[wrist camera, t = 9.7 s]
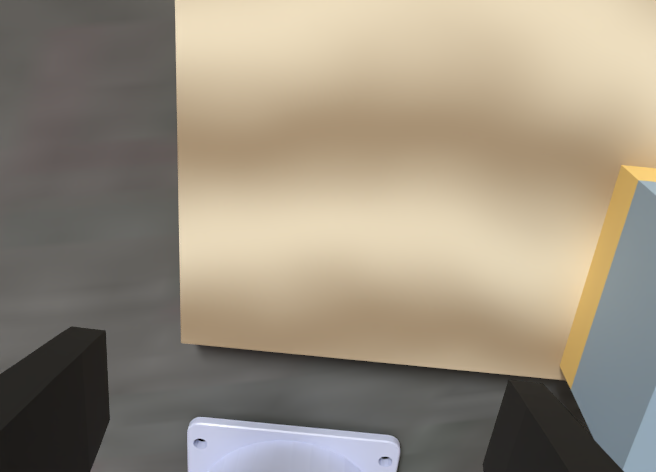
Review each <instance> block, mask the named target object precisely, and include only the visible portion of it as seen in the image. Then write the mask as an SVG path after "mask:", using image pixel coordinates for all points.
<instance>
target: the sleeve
mask: <svg viewBox="0 0 656 472" xmlns="http://www.w3.org/2000/svg"><path fill="white" fill-rule="evenodd" d="M560 368H561V370H562V372H563V374H564V376H565V378H566V381H567V383H568V385H569V387H570V389H571V391H572V393H573V396H574V398H575V400H576V402H577V404H578V406H579V408H580V410H581V413H582V415H583V417H584V419H585V421H586V423H587V425H588V428H589V430H590V432H591V434H592V436H593V438H594V440H595V441H596V442H597V443H598V444H599V445H600V447H601V448H602V449H603V450H604V451H605V452H606V453H607V454H608V455H609V456H610V457H611V458H612V459H613V461H614V462H615V463H616V464H617V465H618V466H619V467H620V468H621V469H622V470H623V471H624V472H656V168H647V167H637V166H626V165H621V168H620V171H619V174H618V178H617V181H616V184H615V187H614V191H613V194H612V197H611V200H610V204H609V207H608V210H607V213H606V217H605V220H604V223H603V226H602V230H601V233H600V236H599V239H598V243H597V246H596V249H595V252H594V256H593V259H592V262H591V265H590V269H589V272H588V275H587V278H586V282H585V285H584V288H583V291H582V295H581V298H580V301H579V304H578V308H577V311H576V314H575V317H574V321H573V324H572V327H571V330H570V334H569V337H568V340H567V343H566V347H565V350H564V353H563V356H562V360H561V363H560Z"/></svg>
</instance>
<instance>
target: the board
mask: <svg viewBox="0 0 656 472" xmlns="http://www.w3.org/2000/svg"><path fill="white" fill-rule="evenodd" d="M175 24H176V80H177V137H178V193H179V250H180V306H181V343H186V344H196V345H207V346H217V347H227V348H237V349H248V350H258V351H268V352H279V353H289V354H299V355H310V356H320V357H330V358H340V359H351V360H361V361H371V362H382V363H392V364H402V365H413V366H423V367H433V368H443V369H454V370H464V371H474V372H485V373H495V374H505V375H515V376H526V377H536V378H546V379H557V380H566V378H565V376H564V374H563V372H562V370H561V368H560V363H561V360H562V356H563V353H564V350H565V347H566V343H567V340H568V337H569V334H570V330H571V327H572V324H573V321H574V317H575V314H576V311H577V308H578V304H579V301H580V298H581V295H582V291H583V288H584V285H585V282H586V278H587V275H588V272H589V269H590V265H591V262H592V259H593V256H594V252H595V249H596V246H597V243H598V239H599V236H600V233H601V230H602V226H603V223H604V220H605V217H606V213H607V210H608V207H609V204H610V200H611V197H612V194H613V191H614V187H615V184H616V181H617V178H618V174H619V171H620V168H621V165H626V166H637V167H647V168H656V0H175Z"/></svg>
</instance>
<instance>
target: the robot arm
mask: <svg viewBox="0 0 656 472" xmlns="http://www.w3.org/2000/svg"><path fill="white" fill-rule="evenodd" d="M109 420H110V415H109V393H108V371H107V350H106V331H104V330H96V329H88V328H79V327H70V328H68V329H67V330H65V331H64V332H62V333H60V334H59V335H57V336H56V337H54V338H53V339H52V340H50V341H49V342H47V343H46V344H44V345H43V346H41V347H40V348H38V349H37V350H35V351H34V352H32V353H31V354H30V355H28V356H27V357H25V358H24V359H22V360H21V361H19V362H18V363H16V364H15V365H13V366H12V367H10V368H9V369H7V370H6V371H4V372H3V373H1V374H0V472H90V470H91V468H92V465H93V463H94V460H95V458H96V455H97V453H98V450H99V448H100V445H101V442H102V439H103V437H104V434H105V431H106V428H107V426H108V423H109ZM198 439H204V440H205V441H199V440H198ZM187 448H188V472H397V467H398V462H399V456H400V443H399V441H398V439H397V438H395V437H394V436H390V435H383V434H373V433H362V432H352V431H342V430H331V429H321V428H311V427H300V426H290V425H280V424H269V423H259V422H249V421H239V420H228V419H218V418H208V417H197V418H194V419H193V420H192V421H191V422H190V424H189V427H188V431H187ZM381 457H390V458H388V459H382V458H381ZM483 470H484V472H624V471H623V470H622V469H621V468H620V467H619V466H618V465H617V464H616V463H615V462H614V461H613V459H612V458H611V457H610V456H609V455H608V454H607V453H606V452H605V451H604V450H603V449H602V448H601V447H600V445H599V444H598V443H597V442H596V441H595V440H594V439H593V438H592V437H591V436H590V435H589V433H588V432H587V431H586V430H585V429H584V428H583V427H582V426H581V425H580V424H579V422H578V421H577V420H576V419H575V418H574V417H573V416H572V415H571V414H570V412H569V411H568V410H567V409H566V408H565V407H564V406H563V405H562V404H561V402H560V401H559V400H558V399H557V398H556V397H555V396H554V395H553V394H552V393H551V392H550V391H549V390H548V389H547V388H546V387H545V385H544V384H541V383H533V382H525V381H517V380H509V381H508V384H507V387H506V390H505V394H504V397H503V400H502V403H501V407H500V410H499V413H498V416H497V420H496V423H495V426H494V429H493V433H492V436H491V439H490V442H489V446H488V449H487V452H486V455H485V459H484V462H483Z"/></svg>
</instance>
